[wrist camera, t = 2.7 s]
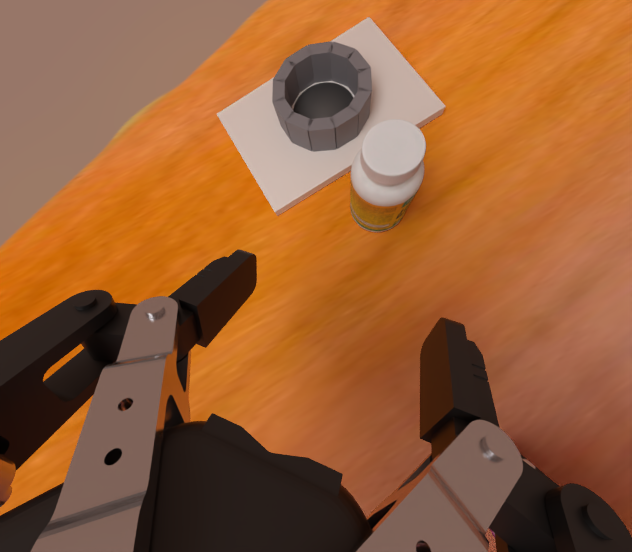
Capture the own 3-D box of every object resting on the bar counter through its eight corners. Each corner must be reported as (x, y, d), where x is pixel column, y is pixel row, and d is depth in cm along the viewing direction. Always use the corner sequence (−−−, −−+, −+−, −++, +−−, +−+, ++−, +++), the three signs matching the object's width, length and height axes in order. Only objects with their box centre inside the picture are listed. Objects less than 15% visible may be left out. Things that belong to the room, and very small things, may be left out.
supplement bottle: (357, 179, 26) (363, 102, 17) (410, 189, 25) (446, 114, 16) (344, 227, 25) (341, 175, 16) (397, 239, 25) (427, 192, 15)
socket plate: (368, 26, 29) (371, -19, 25) (441, 114, 26) (458, 78, 22) (220, 120, 29) (201, 90, 25) (277, 215, 26) (265, 198, 23)
